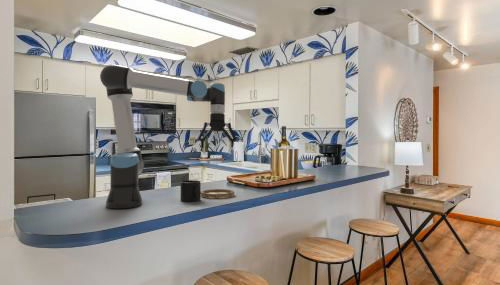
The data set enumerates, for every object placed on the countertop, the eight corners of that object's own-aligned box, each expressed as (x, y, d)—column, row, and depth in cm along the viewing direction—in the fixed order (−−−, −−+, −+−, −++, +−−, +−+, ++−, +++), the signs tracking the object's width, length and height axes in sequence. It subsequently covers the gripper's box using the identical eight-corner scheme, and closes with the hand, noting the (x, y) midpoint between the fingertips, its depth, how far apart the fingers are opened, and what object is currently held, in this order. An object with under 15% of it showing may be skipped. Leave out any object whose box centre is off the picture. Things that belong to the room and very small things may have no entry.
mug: (186, 203, 139) (186, 183, 139) (177, 199, 149) (177, 181, 149) (205, 201, 144) (206, 182, 144) (196, 197, 154) (196, 179, 154)
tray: (203, 199, 150) (203, 194, 150) (199, 193, 166) (199, 189, 166) (237, 197, 155) (237, 193, 155) (230, 192, 171) (230, 188, 171)
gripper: (193, 111, 154) (193, 154, 154) (242, 113, 160) (242, 154, 160) (192, 113, 161) (192, 153, 161) (239, 114, 168) (238, 153, 167)
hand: (217, 154), depth 161 cm, fingers open, 13 cm apart
